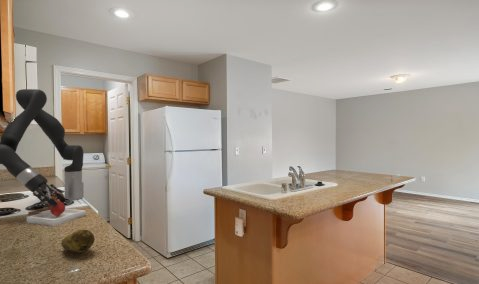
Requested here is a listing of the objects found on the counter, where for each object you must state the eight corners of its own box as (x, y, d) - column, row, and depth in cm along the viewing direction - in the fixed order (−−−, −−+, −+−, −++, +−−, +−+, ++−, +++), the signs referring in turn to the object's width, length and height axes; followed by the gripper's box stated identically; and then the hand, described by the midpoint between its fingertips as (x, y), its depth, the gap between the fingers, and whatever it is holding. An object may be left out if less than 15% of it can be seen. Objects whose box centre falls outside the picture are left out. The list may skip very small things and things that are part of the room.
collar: (49, 209, 138) (49, 206, 138) (64, 211, 135) (64, 208, 135) (28, 214, 128) (28, 211, 128) (43, 216, 125) (43, 213, 125)
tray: (61, 213, 131) (61, 208, 131) (85, 215, 127) (85, 210, 127) (26, 222, 116) (26, 216, 116) (53, 226, 111) (53, 220, 111)
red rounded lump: (46, 216, 120) (47, 199, 120) (60, 213, 126) (61, 197, 125) (53, 219, 118) (54, 201, 117) (67, 216, 123) (68, 199, 123)
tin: (39, 205, 146) (39, 190, 146) (45, 204, 149) (45, 189, 149) (60, 207, 142) (60, 192, 142) (65, 206, 145) (65, 191, 145)
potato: (89, 243, 92) (88, 221, 92) (96, 256, 82) (96, 230, 82) (60, 250, 87) (60, 225, 87) (65, 264, 77) (64, 236, 77)
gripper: (29, 175, 113) (60, 200, 115) (46, 171, 127) (73, 194, 129) (15, 188, 112) (46, 213, 114) (34, 183, 126) (61, 205, 128)
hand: (60, 203), depth 122 cm, fingers open, 8 cm apart
